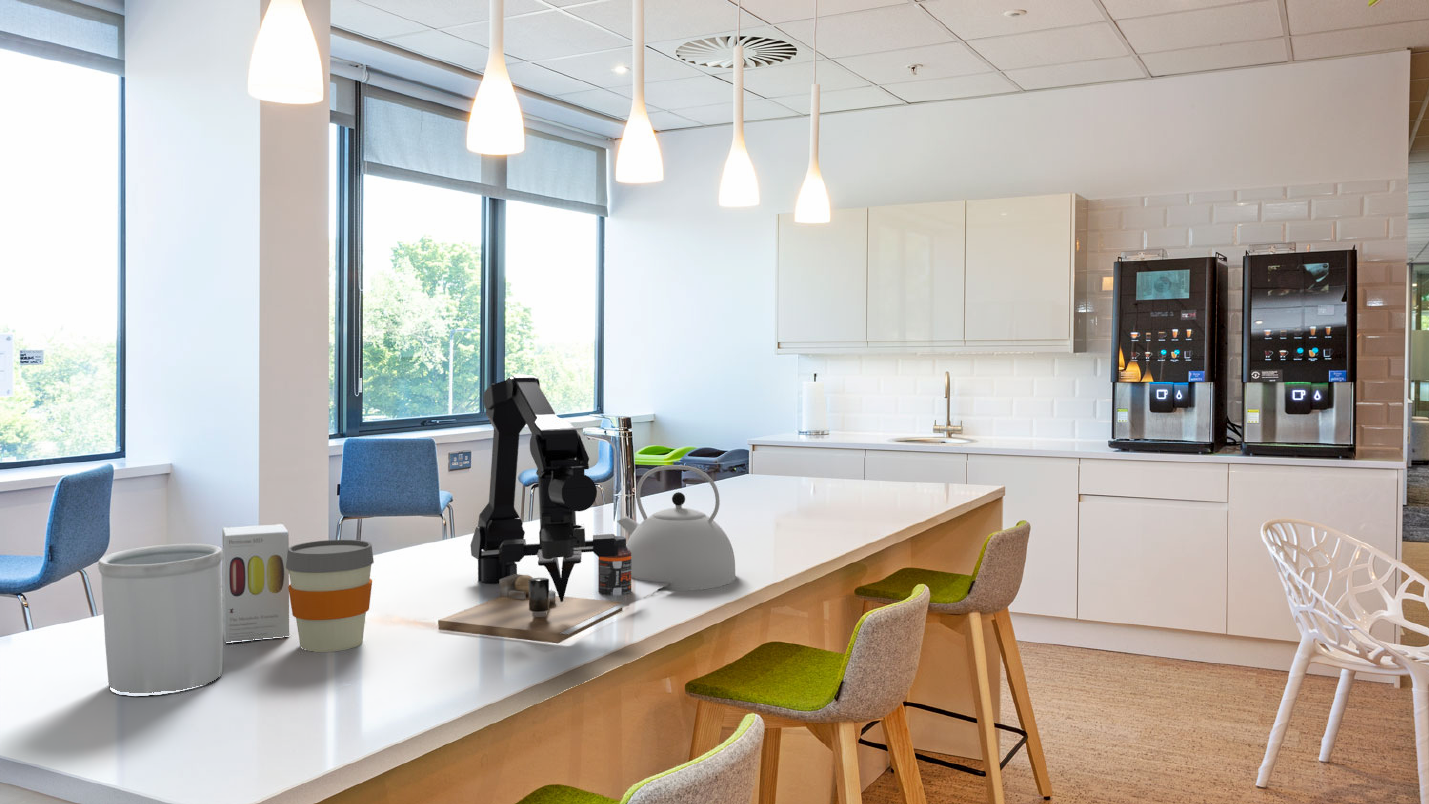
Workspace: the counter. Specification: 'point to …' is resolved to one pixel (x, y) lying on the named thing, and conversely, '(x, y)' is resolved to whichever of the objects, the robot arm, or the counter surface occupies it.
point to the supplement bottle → (615, 571)
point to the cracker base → (526, 616)
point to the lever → (540, 596)
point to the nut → (523, 583)
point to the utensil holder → (162, 617)
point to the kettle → (680, 544)
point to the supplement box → (255, 582)
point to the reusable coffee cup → (330, 592)
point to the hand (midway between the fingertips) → (561, 601)
